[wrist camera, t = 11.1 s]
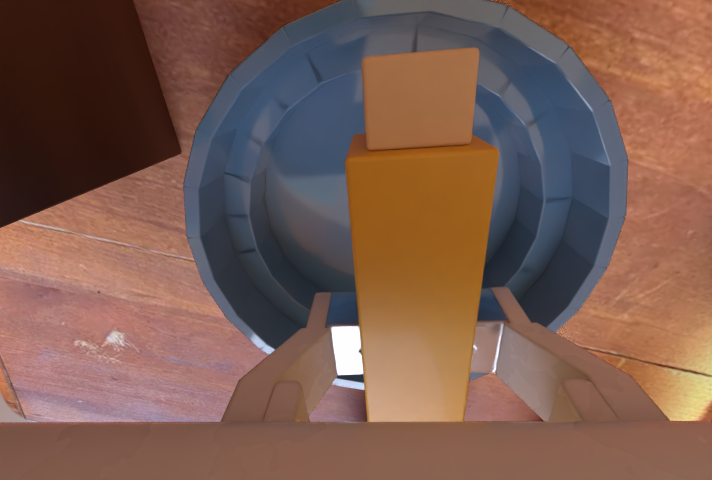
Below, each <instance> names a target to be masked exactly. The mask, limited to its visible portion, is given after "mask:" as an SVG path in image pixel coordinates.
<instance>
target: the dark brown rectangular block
mask: <svg viewBox="0 0 712 480" xmlns="http://www.w3.org/2000/svg"><path fill="white" fill-rule="evenodd" d="M179 154H181V151H180V148H179V145H178V141H177V138H176V135H175V132H174V129H173V126H172V123H171V120H170V116H169V113H168V110H167V107H166V104H165V101H164V98H163V95H162V91H161V88H160V85H159V82H158V79H157V76H156V73H155V70H154V66H153V63H152V60H151V57H150V54H149V51H148V48H147V45H146V41H145V38H144V35H143V32H142V29H141V26H140V23H139V20H138V16H137V13H136V10H135V7H134V4H133V1H132V0H0V228H1V227H4V226H6V225H9V224H11V223H13V222H16V221H18V220H21V219H23V218H26V217H28V216H30V215H33V214H35V213H38V212H40V211H43V210H45V209H48V208H50V207H52V206H55V205H57V204H60V203H62V202H65V201H67V200H69V199H72V198H74V197H77V196H79V195H82V194H84V193H86V192H89V191H91V190H94V189H96V188H99V187H101V186H103V185H106V184H108V183H111V182H113V181H116V180H118V179H120V178H123V177H125V176H128V175H130V174H133V173H135V172H137V171H140V170H142V169H145V168H147V167H150V166H152V165H154V164H157V163H159V162H162V161H164V160H167V159H169V158H171V157H174V156H176V155H179Z"/></svg>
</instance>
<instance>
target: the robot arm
mask: <svg viewBox="0 0 712 480" xmlns="http://www.w3.org/2000/svg"><path fill="white" fill-rule="evenodd" d="M470 373H496V375H497V376H498V377H499V378H500V379H501V380H502V381H503V382H504V383H505V384H506V385H507V386H508V387H509V388H510V389H511V390H512V391H513V392H514V393H515V394H516V395H518V396H519V397H520V398H521V399H522V400H523V401H524V402H525V403H526V404H527V405H528V406H529V407H530V408H531V409H532V410H533V411H534V412H535V413H536V414H537V415H538V416H540V417H541V418H542V419H543V420H544V421H463V422H310V421H309V415H310V413H311V412H312V411H313V409H314V408H315V407H316V405H317V404H318V402H319V401H320V400H321V398H322V397H323V396H324V394H325V393H326V391H327V390H328V389H329V387H330V386H331V385H332V383H333V382H334V381H335V379H336V378H337V375H354V374H363V365H362V354H361V342H360V331H359V319H358V308H357V297H356V292H322V293H316V294H315V295H314V299H313V303H312V307H311V310H310V314H309V318H308V322H307V325H306V328H301V329H300V330H298V331H297V332H296V333H295V334H294V335H292V336H291V337H290V338H289V339H288V340H286V341H285V342H284V343H283V344H282V345H280V346H279V347H278V348H277V349H276V350H274V351H273V352H272V353H271V354H270V355H268V356H267V357H266V358H265V359H264V360H262V361H261V362H260V363H259V364H258V365H256V366H255V367H254V368H253V369H252V370H251V371H249V372H248V373H247V374H246V375H245V376H243V377H242V378H241V379H240V380H239V381H238V384H237V386H236V388H235V390H234V393H233V395H232V397H231V399H230V402H229V404H228V406H227V408H226V411H225V413H224V415H223V417H222V420H221V422H27V423H25V422H22V423H21V422H20V423H0V480H712V421H670V420H669V419H668V418H667V417H666V415H665V414H664V413H663V412H662V411H661V410H660V409H659V407H658V406H657V405H656V404H655V403H654V402H653V400H652V399H651V398H650V397H649V396H648V395H647V394H646V392H645V391H644V390H643V389H642V388H641V387H640V385H639V384H638V383H637V382H636V381H635V380H634V378H633V377H632V376H630V375H629V374H627V373H625V372H623V371H622V370H620V369H618V368H616V367H614V366H613V365H611V364H609V363H607V362H606V361H604V360H602V359H600V358H599V357H597V356H595V355H593V354H591V353H590V352H588V351H586V350H584V349H583V348H581V347H579V346H577V345H576V344H574V343H572V342H570V341H568V340H567V339H565V338H563V337H561V336H560V335H558V334H556V333H554V332H553V331H551V330H549V329H547V328H545V327H544V326H542V325H540V324H538V323H531V321H530V320H529V318H528V317H527V315H526V314H525V312H524V311H523V309H522V308H521V306H520V305H519V303H518V302H517V300H516V299H515V297H514V296H513V294H512V293H511V291H510V290H509V288H507V287H506V286H505V287H489V288H481V294H480V302H479V309H478V317H477V324H476V332H475V339H474V347H473V354H472V362H471V369H470Z"/></svg>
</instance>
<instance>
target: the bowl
mask: <svg viewBox="0 0 712 480" xmlns="http://www.w3.org/2000/svg"><path fill="white" fill-rule="evenodd" d="M471 47H475V48H478V49H479V64H478V75H477V85H476V96H475V107H474V118H473V129H472V134H473V135H475V136H476V137H478V138H480V139H481V140H483V141H485V142H487V143H488V144H490V145H492V146H494V147H495V148H497V149H498V150H499V159H498V167H497V174H496V182H495V189H494V197H493V204H492V212H491V219H490V227H489V234H488V242H487V249H486V257H485V264H484V272H483V279H482V287H481V288H489V287H505V286H506V287H507V288H509V290H510V291H511V293H512V294H513V296H514V297H515V299H516V300H517V302H518V303H519V305H520V306H521V308H522V309H523V311H524V312H525V314H526V315H527V317H528V318H529V320H530V321H531V323H538V324H540V325H542V326H544V327H545V328H547V329H549V330H551V331H553V332H554V333H555V332H557V331H558V330H559V329H560V328H561V327H562V326H563V325H564V324H565V323H566V322H567V321H568V320H569V319H570V318H571V317H573V316H574V315H575V314H576V313H577V312H578V311H579V309H580V308H581V307H582V305H583V304H584V302H585V301H586V299H587V298H588V297H589V295H590V294H591V292H592V291H593V289H594V288H595V286H596V285H597V283H598V282H599V280H600V279H601V277H602V276H603V274H604V273H605V271H606V270H607V267H608V266H609V263H610V260H611V257H612V254H613V252H614V249H615V246H616V243H617V240H618V237H619V234H620V231H621V228H622V225H623V223H624V220H625V216H626V204H627V179H628V159H627V158H628V156H627V153H626V150H625V146H624V143H623V139H622V136H621V133H620V129H619V126H618V123H617V119H616V116H615V113H614V109H613V106H612V102H611V100H609V97H608V96H607V94H606V93H605V92H604V90H603V89H602V88H601V86H600V85H599V84H598V82H597V81H596V80H595V78H594V77H593V76H592V74H591V73H590V71H589V70H588V69H587V67H586V66H585V65H584V63H583V62H582V61H581V59H580V58H579V57H578V55H577V54H576V53H575V51H574V50H573V49H572V47H571V46H569V44H568V43H566V42H565V41H563V40H562V39H560V38H559V37H557V36H555V35H554V34H552V33H551V32H549V31H548V30H546V29H545V28H543V27H542V26H540V25H539V24H537V23H535V22H534V21H532V20H531V19H529V18H528V17H526V16H525V15H523V14H522V13H520V12H518V11H517V10H515V9H514V8H512V7H511V6H507V5H506V4H503V3H498V2H494V1H490V0H340V1H337V2H335V3H333V4H331V5H328V6H326V7H324V8H322V9H319V10H317V11H315V12H313V13H310V14H308V15H306V16H303V17H301V18H299V19H297V20H294V21H292V22H290V23H288V24H285V25H284V26H283V27H280V28H279V29H278V30H277V31H276V32H275V33H274V34H273V35H271V36H270V37H269V38H268V39H267V40H266V41H265V42H264V43H262V44H261V45H260V46H259V47H258V48H257V49H256V50H255V51H253V52H252V53H251V54H250V55H249V56H248V57H247V58H246V59H244V60H243V61H242V62H241V63H240V64H239V65H238V66H237V67H235V68H234V69H233V70H232V71H231V72H230V74H229V75H228V76H227V78H226V79H225V81H224V83H223V84H222V86H221V88H220V89H219V91H218V93H217V94H216V96H215V98H214V100H213V101H212V103H211V105H210V106H209V108H208V110H207V111H206V113H205V115H204V116H203V118H202V120H201V122H200V123H199V125H198V127H197V129H196V131H195V136H194V140H193V144H192V149H191V153H190V157H189V162H188V166H187V170H186V174H185V179H184V183H183V185H184V186H183V191H184V207H185V222H186V236H187V240H188V242H189V245H190V248H191V251H192V254H193V257H194V259H195V262H196V265H197V268H198V271H199V273H200V276H201V279H202V281H203V284H204V285H205V287H206V288H207V290H208V291H209V293H210V294H211V296H212V297H213V299H214V300H215V302H216V303H217V305H218V306H219V308H220V309H221V311H222V312H223V314H224V315H225V317H226V318H227V319H229V321H230V322H231V323H232V324H233V325H234V326H235V327H236V328H237V329H238V330H240V331H241V332H242V333H243V334H244V335H245V336H246V337H247V338H248V339H249V340H250V341H251V342H252V343H254V344H255V345H256V346H257V347H258V348H259V349H261V350H262V351H264V352H265V353H267V354H269V355H270V354H271V353H272V352H273V351H274V350H276V349H277V348H278V347H279V346H280V345H282V344H283V343H284V342H285V341H286V340H288V339H289V338H290V337H291V336H292V335H294V334H295V333H296V332H297V331H298V330H300V329H301V328H306V325H307V322H308V318H309V314H310V310H311V307H312V303H313V299H314V295H315V294H316V293H322V292H356V285H355V274H354V262H353V251H352V239H351V228H350V216H349V205H348V194H347V182H346V171H345V160H346V157H347V154H348V150H349V147H350V144H351V141H352V138H353V135H355V134H363V133H365V120H364V102H363V84H362V66H361V62H362V59H363V58H364V57H366V56H377V55H389V54H401V53H412V52H424V51H436V50H448V49H459V48H471ZM486 374H489V373H470V377H469V381H471V380H473V379H476V378H478V377H481V376H484V375H486ZM332 384H334V385H337V386H343V387H349V388H355V389H361V390H365V388H364V377H363V374H354V375H337V378H336V379H335V381H334V382H333V383H332Z"/></svg>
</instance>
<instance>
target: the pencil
mask: <svg viewBox="0 0 712 480" xmlns="http://www.w3.org/2000/svg"><path fill="white" fill-rule="evenodd" d="M478 64H479V49H478V48H475V47H471V48H459V49H448V50H436V51H424V52H412V53H401V54H389V55H377V56H366V57H364V58H363V59H362V62H361V66H362V84H363V102H364V120H365V133H363V134H355V135H353V138H352V141H351V144H350V147H349V150H348V154H347V157H346V160H345V171H346V182H347V194H348V205H349V216H350V228H351V239H352V251H353V262H354V274H355V285H356V297H357V308H358V319H359V331H360V342H361V354H362V365H363V377H364V388H365V399H366V411H367V422H463V421H464V415H465V407H466V400H467V392H468V385H469V377H470V369H471V362H472V354H473V347H474V339H475V332H476V324H477V317H478V309H479V302H480V294H481V287H482V279H483V272H484V264H485V257H486V249H487V242H488V234H489V227H490V219H491V212H492V204H493V197H494V189H495V182H496V174H497V167H498V159H499V150H498V149H497V148H495V147H494V146H492V145H490V144H488V143H487V142H485V141H483V140H481V139H480V138H478V137H476V136H475V135H473V134H472V129H473V118H474V107H475V96H476V85H477V75H478Z"/></svg>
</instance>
